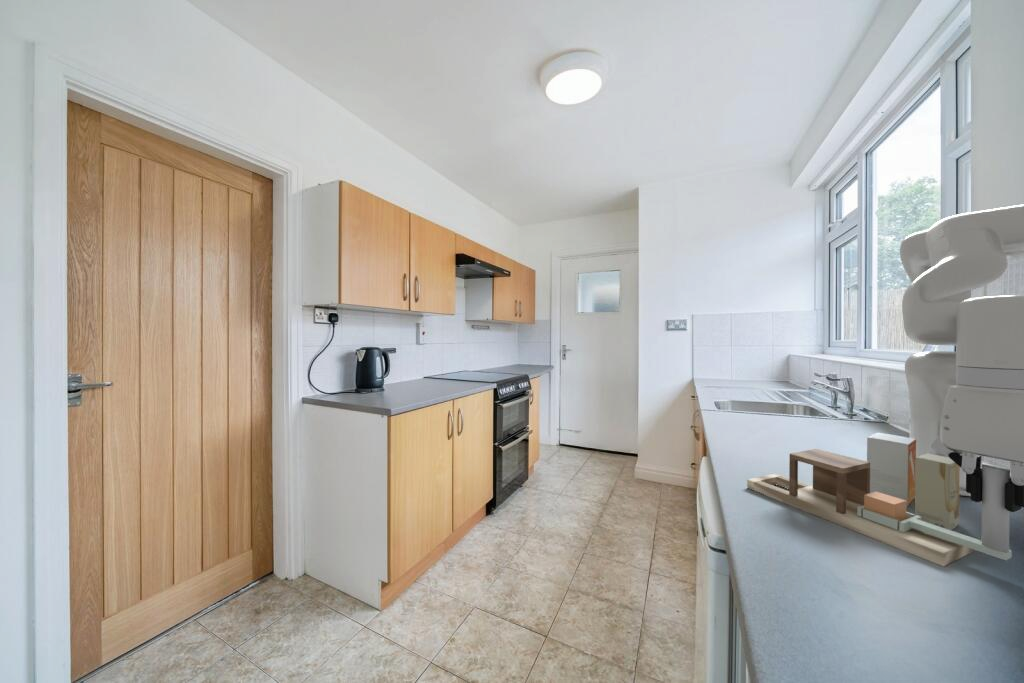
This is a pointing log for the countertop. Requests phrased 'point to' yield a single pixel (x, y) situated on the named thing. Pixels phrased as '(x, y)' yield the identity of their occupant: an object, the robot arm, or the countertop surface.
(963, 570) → the countertop surface
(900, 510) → the block
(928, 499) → the skincare box
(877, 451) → the small box
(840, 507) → the tunnel
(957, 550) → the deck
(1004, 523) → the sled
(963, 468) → the robot arm
